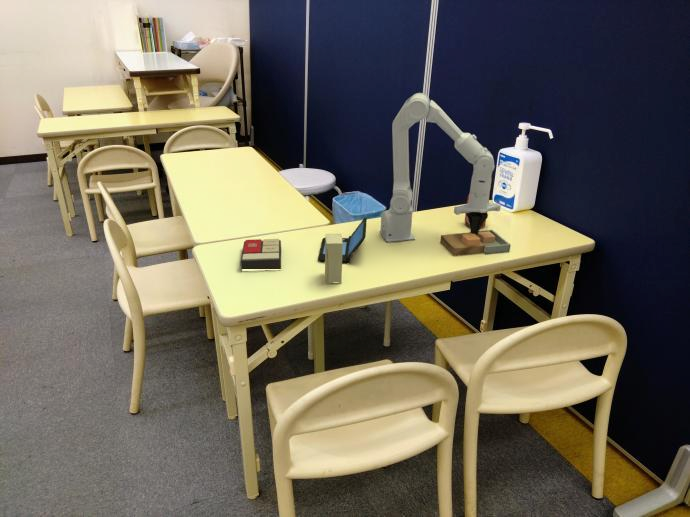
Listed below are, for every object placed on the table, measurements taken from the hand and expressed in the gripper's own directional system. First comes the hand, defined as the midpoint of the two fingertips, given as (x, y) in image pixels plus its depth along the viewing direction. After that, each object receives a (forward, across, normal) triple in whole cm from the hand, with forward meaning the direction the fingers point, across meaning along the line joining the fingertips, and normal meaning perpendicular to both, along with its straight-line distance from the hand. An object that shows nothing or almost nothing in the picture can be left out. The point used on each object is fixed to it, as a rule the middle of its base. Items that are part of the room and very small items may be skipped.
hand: (474, 233), depth 163 cm
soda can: (+3, +7, +13) cm, 15 cm away
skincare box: (+3, -48, -13) cm, 50 cm away
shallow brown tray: (+3, -5, -2) cm, 6 cm away
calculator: (+4, -66, +3) cm, 66 cm away
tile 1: (+1, +4, 0) cm, 4 cm away
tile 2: (+1, -4, -5) cm, 6 cm away
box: (+3, +4, -3) cm, 6 cm away
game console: (+4, -42, +2) cm, 42 cm away
